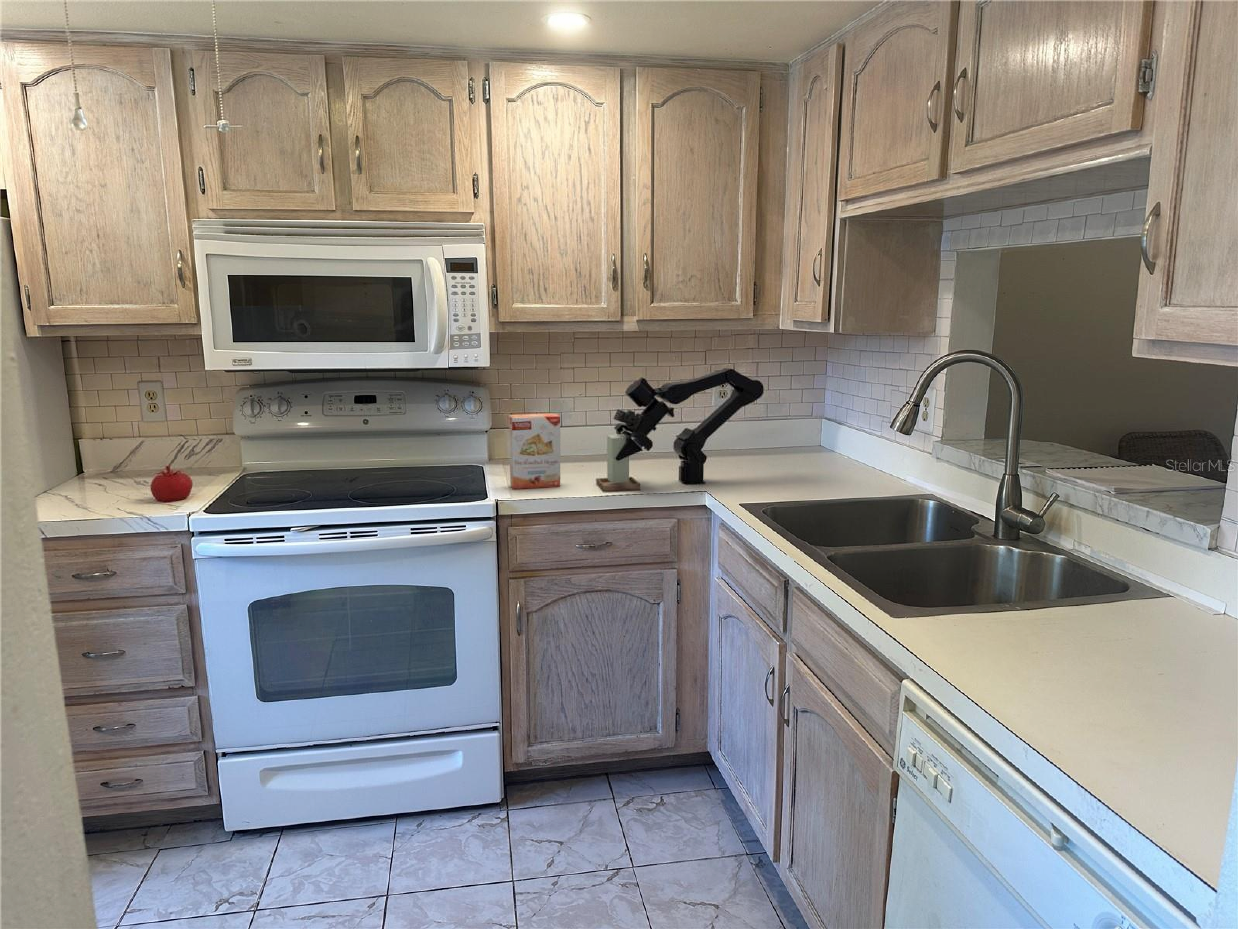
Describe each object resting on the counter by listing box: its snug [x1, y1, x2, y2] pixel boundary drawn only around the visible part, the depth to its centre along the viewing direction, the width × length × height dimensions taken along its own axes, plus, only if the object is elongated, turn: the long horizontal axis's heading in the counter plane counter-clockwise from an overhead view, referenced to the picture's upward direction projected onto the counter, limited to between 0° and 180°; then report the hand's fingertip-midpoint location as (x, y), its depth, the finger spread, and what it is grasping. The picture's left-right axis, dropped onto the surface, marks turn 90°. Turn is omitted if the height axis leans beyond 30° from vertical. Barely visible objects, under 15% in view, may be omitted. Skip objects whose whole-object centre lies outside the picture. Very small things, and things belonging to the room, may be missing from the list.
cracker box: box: [508, 413, 561, 490], centre depth 237 cm, size 14×6×21 cm, turn 105°
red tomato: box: [150, 465, 194, 503], centre depth 222 cm, size 10×10×9 cm
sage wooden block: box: [606, 434, 630, 483], centre depth 236 cm, size 5×5×13 cm
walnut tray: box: [595, 476, 641, 493], centre depth 237 cm, size 11×11×2 cm
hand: (613, 458), depth 235 cm, fingers closed on sage wooden block, 5 cm apart
